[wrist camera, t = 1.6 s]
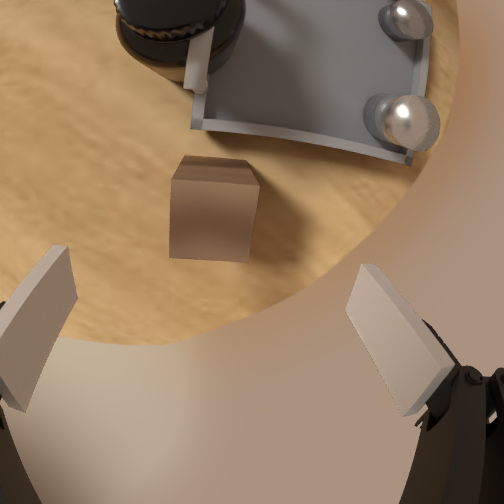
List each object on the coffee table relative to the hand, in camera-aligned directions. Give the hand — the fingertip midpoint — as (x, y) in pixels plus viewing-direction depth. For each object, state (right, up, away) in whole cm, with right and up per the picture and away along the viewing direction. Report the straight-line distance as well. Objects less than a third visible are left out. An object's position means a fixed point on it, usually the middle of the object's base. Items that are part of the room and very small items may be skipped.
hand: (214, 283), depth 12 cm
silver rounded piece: (+12, +12, +8) cm, 19 cm away
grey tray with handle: (+7, +18, +7) cm, 20 cm away
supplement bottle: (-3, +17, +6) cm, 18 cm away
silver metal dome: (+14, +20, +4) cm, 25 cm away
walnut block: (-2, +7, +12) cm, 14 cm away
